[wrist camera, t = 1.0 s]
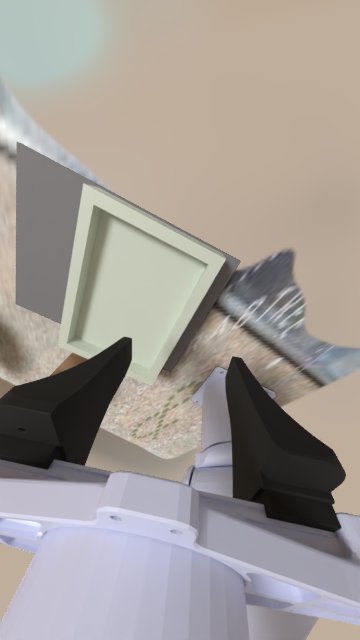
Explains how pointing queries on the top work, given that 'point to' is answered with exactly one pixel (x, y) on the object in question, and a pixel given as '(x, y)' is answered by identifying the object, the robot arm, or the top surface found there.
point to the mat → (70, 241)
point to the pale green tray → (132, 283)
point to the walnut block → (69, 363)
